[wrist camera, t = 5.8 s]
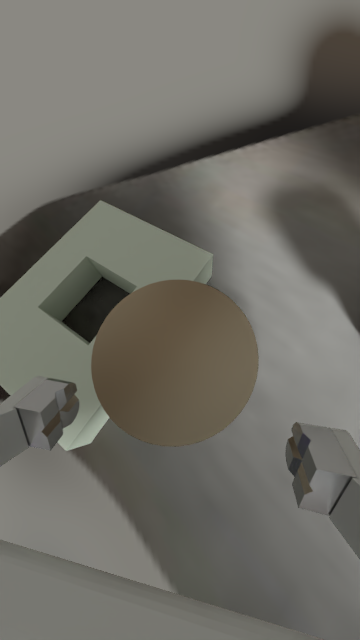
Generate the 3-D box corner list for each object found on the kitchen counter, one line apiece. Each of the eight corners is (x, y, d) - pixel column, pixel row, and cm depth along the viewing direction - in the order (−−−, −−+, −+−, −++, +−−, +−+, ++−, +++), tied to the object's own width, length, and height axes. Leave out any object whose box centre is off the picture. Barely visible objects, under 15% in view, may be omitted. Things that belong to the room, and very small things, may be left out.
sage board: (211, 276, 20) (213, 254, 17) (90, 443, 15) (66, 450, 13) (112, 225, 23) (100, 200, 20) (-8, 350, 19) (-44, 340, 16)
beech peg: (230, 383, 16) (291, 327, 5) (201, 432, 15) (197, 499, 4) (186, 354, 17) (155, 255, 6) (156, 397, 16) (54, 374, 5)
